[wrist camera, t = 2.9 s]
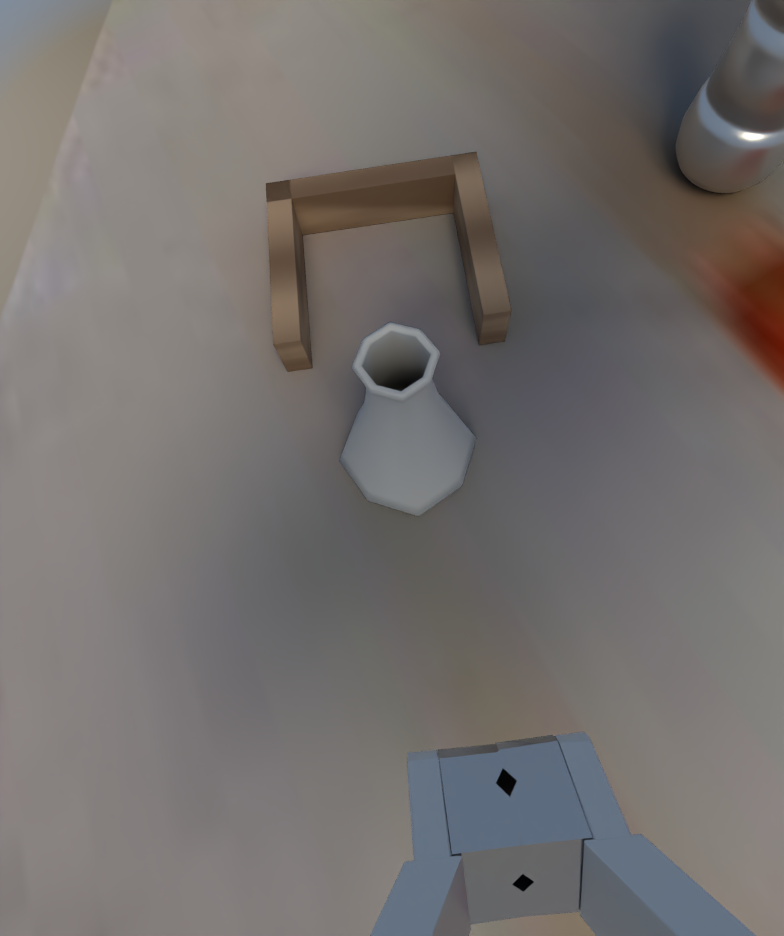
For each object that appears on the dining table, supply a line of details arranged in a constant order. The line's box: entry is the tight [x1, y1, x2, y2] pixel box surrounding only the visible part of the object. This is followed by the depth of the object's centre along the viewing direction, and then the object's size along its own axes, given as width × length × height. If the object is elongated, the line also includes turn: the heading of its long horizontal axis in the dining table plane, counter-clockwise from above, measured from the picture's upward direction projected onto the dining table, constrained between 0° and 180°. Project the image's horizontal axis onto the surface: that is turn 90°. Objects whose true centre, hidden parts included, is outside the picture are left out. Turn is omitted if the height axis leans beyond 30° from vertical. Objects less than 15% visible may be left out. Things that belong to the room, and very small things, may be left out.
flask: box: [339, 322, 476, 516], centre depth 25 cm, size 7×7×10 cm
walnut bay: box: [266, 152, 512, 371], centre depth 32 cm, size 12×13×3 cm
